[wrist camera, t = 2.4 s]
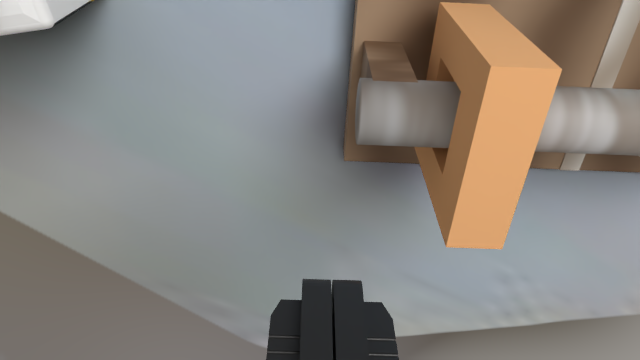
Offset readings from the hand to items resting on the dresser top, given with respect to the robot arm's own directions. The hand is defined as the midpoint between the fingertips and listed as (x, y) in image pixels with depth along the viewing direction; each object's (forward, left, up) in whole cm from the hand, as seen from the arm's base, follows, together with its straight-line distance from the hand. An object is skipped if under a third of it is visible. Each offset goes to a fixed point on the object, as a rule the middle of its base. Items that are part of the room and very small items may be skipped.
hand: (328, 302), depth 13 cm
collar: (-7, 0, -15) cm, 17 cm away
